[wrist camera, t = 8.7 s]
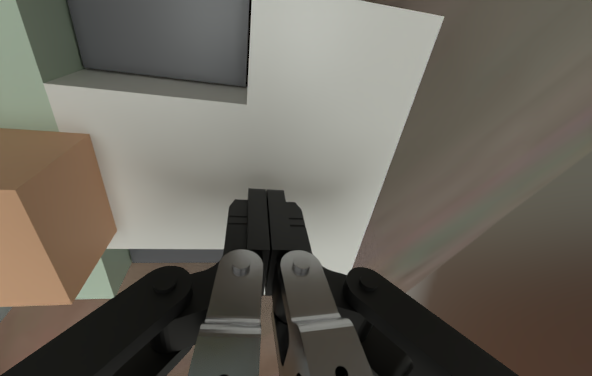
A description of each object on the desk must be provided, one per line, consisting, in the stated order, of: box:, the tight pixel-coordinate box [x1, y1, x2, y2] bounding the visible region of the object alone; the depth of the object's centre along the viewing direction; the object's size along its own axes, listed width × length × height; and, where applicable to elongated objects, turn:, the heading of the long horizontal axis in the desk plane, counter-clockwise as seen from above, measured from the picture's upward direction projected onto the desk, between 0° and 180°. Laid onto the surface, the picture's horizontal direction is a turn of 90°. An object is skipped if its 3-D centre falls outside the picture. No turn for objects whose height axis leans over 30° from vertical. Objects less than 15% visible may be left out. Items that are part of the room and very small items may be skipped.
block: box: [0, 128, 117, 307], centre depth 10 cm, size 5×5×4 cm
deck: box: [0, 0, 444, 322], centre depth 12 cm, size 16×20×6 cm
